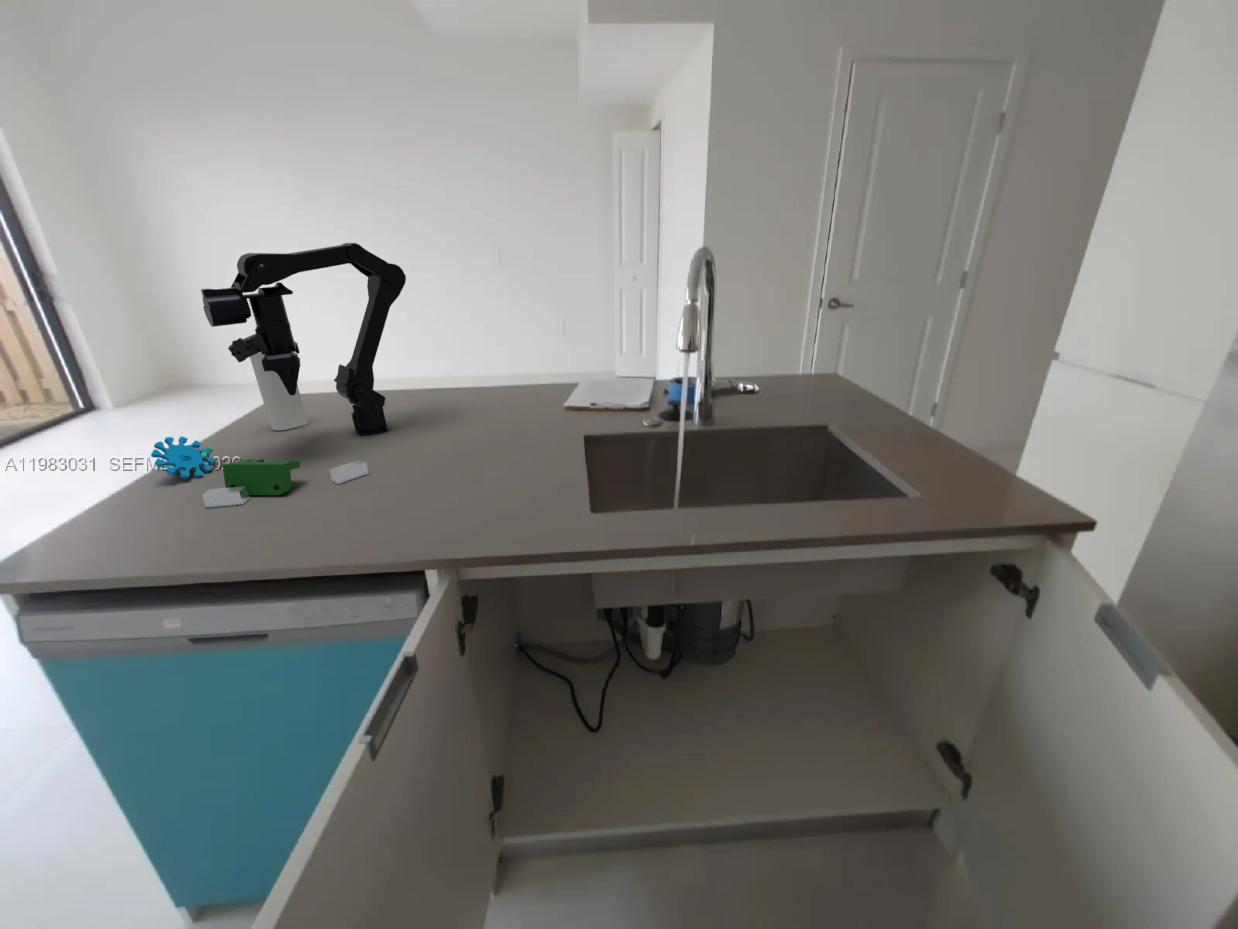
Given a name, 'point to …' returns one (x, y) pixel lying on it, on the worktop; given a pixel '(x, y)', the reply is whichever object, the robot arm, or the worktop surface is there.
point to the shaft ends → (241, 495)
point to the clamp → (260, 475)
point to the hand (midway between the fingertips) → (292, 394)
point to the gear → (183, 457)
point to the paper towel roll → (278, 398)
